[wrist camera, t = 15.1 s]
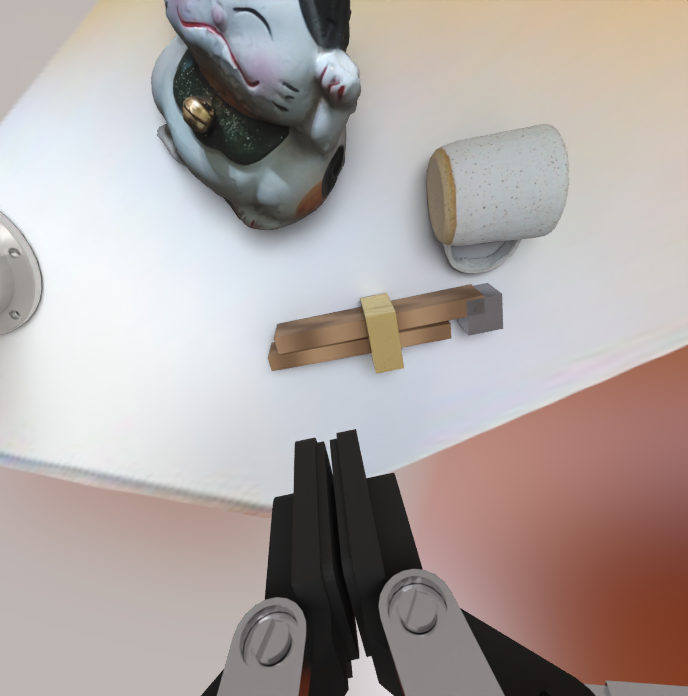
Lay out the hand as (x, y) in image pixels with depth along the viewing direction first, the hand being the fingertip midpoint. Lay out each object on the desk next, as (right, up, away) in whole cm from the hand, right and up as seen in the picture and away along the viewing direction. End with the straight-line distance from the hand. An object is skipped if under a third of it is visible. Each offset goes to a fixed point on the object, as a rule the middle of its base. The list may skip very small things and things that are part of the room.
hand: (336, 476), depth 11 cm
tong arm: (+1, +5, +27) cm, 27 cm away
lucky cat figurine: (-6, +22, +19) cm, 29 cm away
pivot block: (+12, +8, +26) cm, 30 cm away
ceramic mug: (+11, +16, +23) cm, 30 cm away
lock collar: (+3, +6, +26) cm, 27 cm away
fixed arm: (+3, +7, +26) cm, 27 cm away
